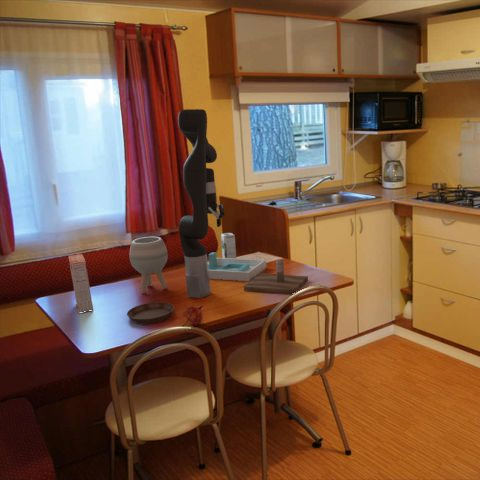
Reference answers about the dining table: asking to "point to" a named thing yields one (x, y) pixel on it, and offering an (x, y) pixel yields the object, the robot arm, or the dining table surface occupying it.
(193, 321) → the pomegranate
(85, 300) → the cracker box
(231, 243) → the syrup box
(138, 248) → the planter
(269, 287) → the stake board
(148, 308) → the plant saucer
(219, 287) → the dining table surface
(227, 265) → the teal frame with handle
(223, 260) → the tray
